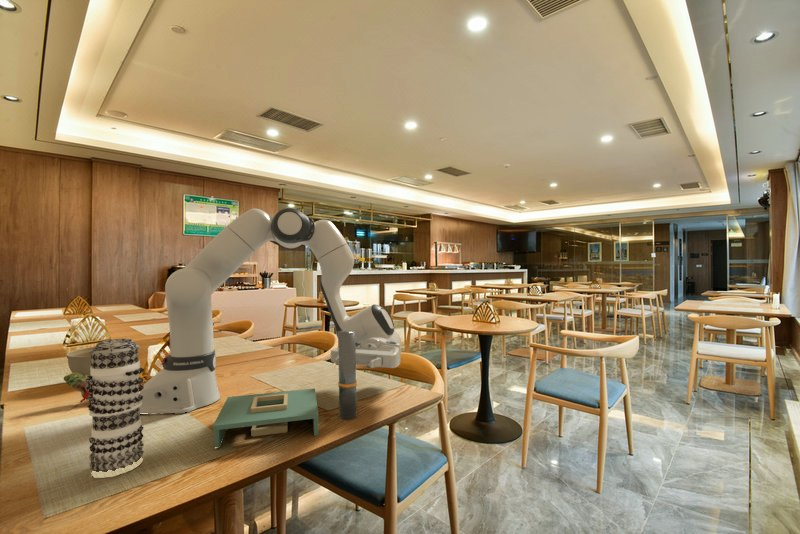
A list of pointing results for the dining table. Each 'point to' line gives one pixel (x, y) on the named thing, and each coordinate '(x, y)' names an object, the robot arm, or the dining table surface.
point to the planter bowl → (80, 361)
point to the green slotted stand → (266, 412)
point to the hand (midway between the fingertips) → (353, 363)
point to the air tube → (347, 374)
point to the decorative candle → (115, 405)
